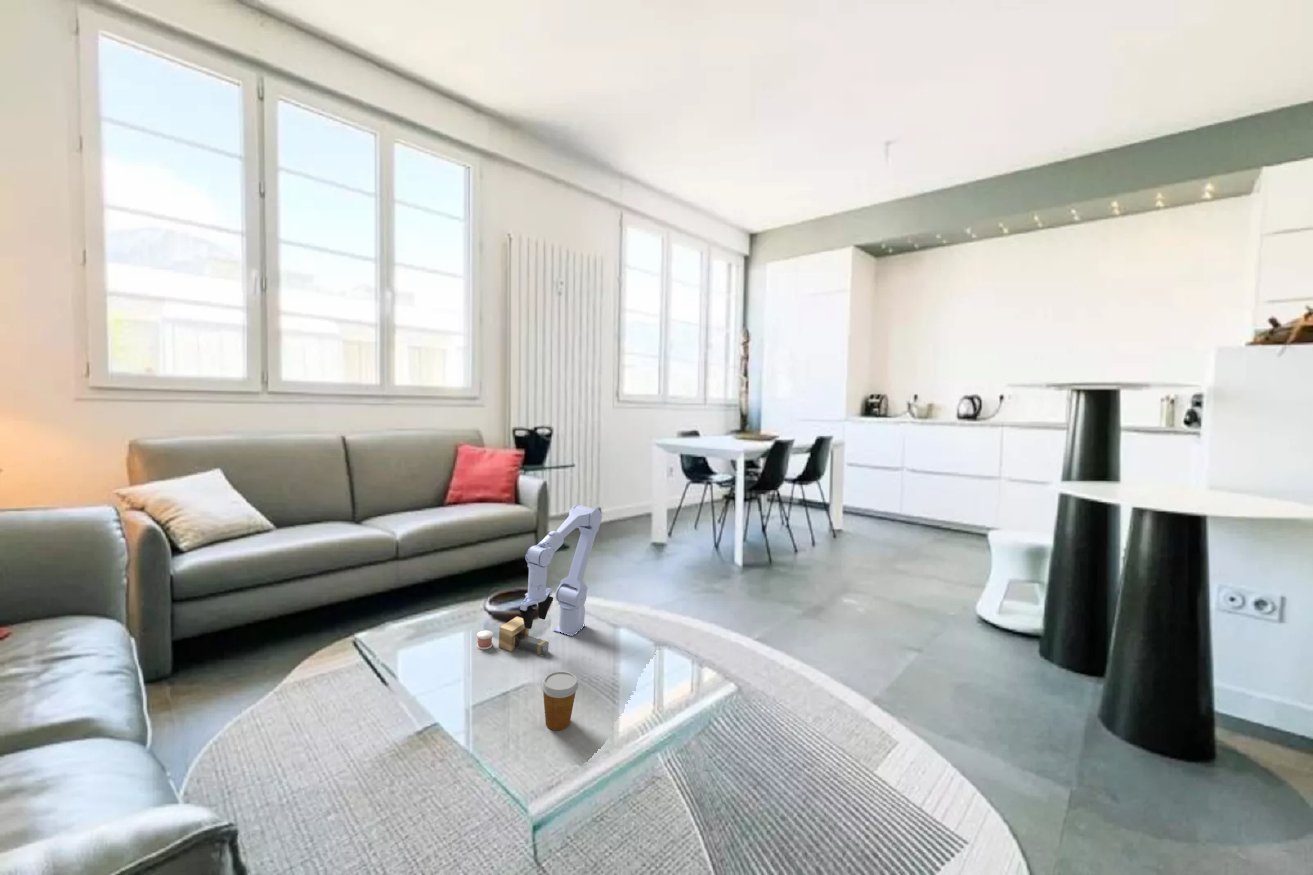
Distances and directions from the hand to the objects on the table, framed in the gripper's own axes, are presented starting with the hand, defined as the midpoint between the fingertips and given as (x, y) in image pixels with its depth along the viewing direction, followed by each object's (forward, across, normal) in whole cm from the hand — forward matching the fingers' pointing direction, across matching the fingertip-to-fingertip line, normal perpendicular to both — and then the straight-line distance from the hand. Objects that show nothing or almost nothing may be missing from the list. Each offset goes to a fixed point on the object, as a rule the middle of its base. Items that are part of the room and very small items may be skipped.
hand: (535, 623), depth 181 cm
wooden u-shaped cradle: (+9, 0, -8) cm, 12 cm away
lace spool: (+9, +6, -15) cm, 19 cm away
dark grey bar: (+9, 0, -4) cm, 10 cm away
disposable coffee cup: (+9, +27, +27) cm, 39 cm away
